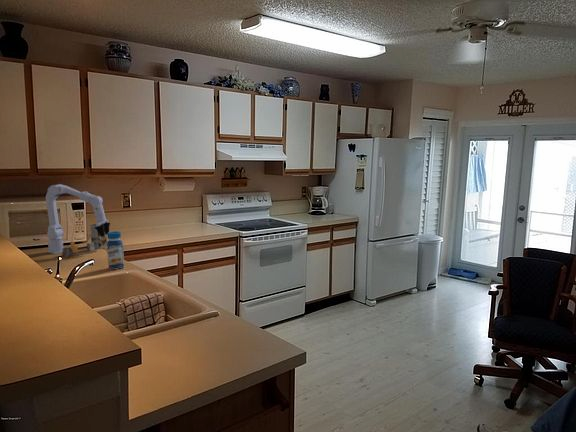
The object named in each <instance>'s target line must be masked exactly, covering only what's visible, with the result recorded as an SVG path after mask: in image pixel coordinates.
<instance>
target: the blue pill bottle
mask: <svg viewBox="0 0 576 432" xmlns="http://www.w3.org/2000/svg"><path fill="white" fill-rule="evenodd" d="M121 238H122V235H121V231H117V230H116V231H109V233H107V242H108V243H107V247H106V248H107V249H106V252H107V253H106V254H107V263H108V269H109V268H110V269H109V270H111V269H117V270H119V269H118V268H122V267H124V268H125V259H124V258H125V256H124V255H125V254H124V250H125V249H124V247H123V241H122V240H121ZM122 269H123V268H122Z"/></svg>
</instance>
